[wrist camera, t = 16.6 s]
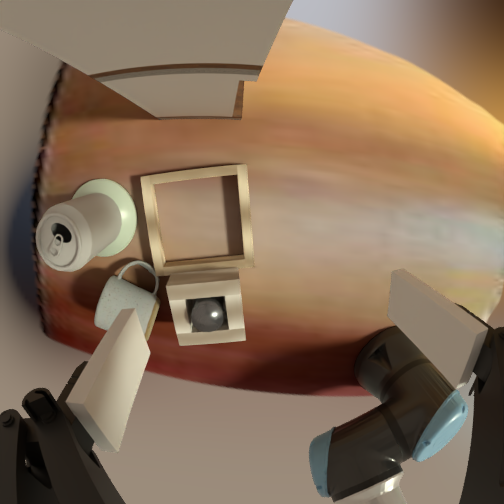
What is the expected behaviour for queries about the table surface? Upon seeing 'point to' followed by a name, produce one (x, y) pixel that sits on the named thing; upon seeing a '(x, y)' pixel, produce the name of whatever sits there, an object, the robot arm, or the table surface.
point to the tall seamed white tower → (157, 47)
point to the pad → (125, 207)
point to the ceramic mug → (128, 301)
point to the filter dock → (202, 263)
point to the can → (77, 231)
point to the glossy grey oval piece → (207, 313)
